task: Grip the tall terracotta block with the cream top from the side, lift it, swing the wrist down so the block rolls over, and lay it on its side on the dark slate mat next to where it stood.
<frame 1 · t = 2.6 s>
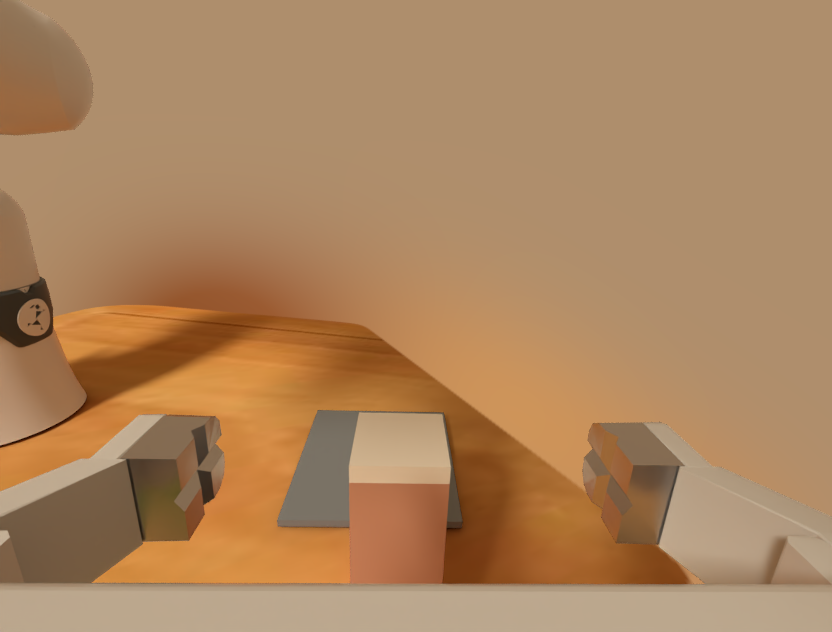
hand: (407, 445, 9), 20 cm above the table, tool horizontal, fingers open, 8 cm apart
slate mat: (376, 461, 40), on the table
tall block: (395, 601, 27), on the table
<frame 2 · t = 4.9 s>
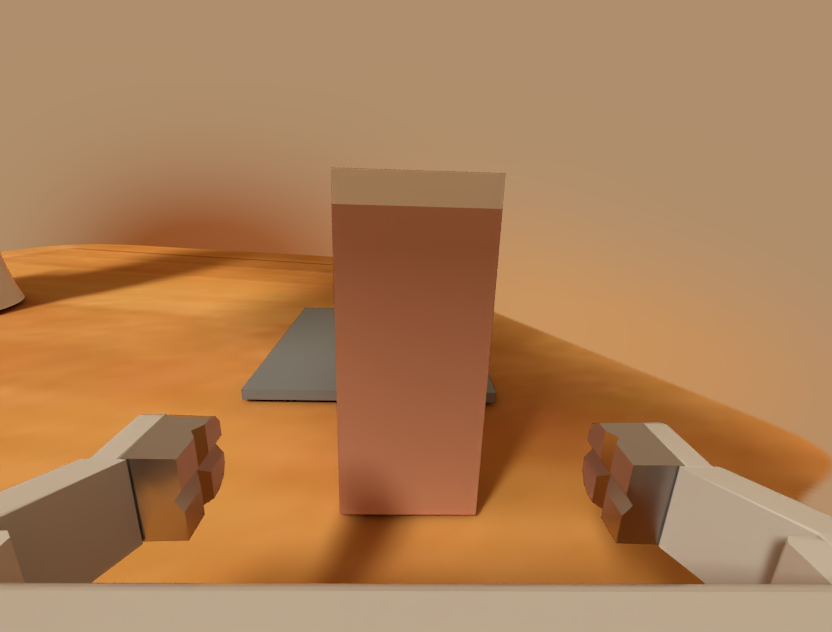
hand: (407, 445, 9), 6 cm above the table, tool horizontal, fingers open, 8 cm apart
slate mat: (378, 348, 31), on the table
tall block: (407, 470, 18), on the table
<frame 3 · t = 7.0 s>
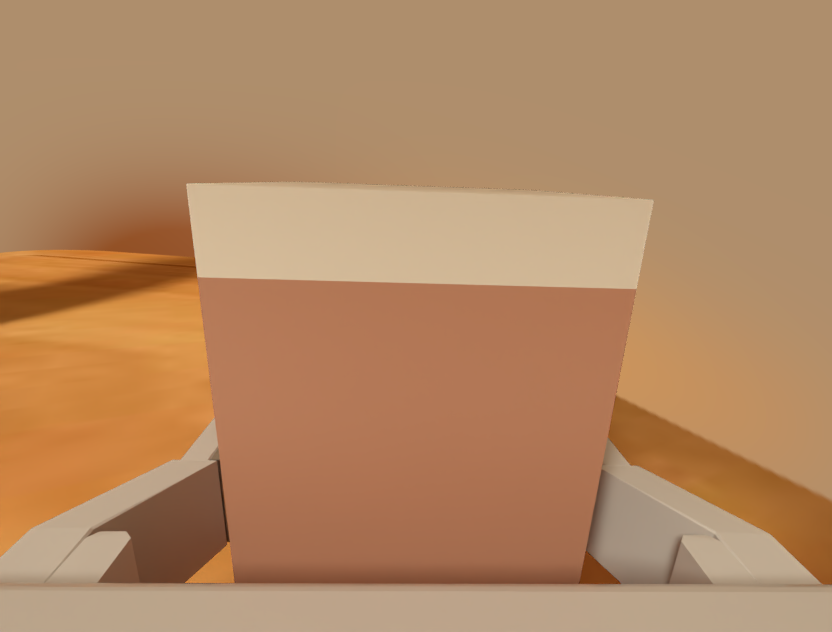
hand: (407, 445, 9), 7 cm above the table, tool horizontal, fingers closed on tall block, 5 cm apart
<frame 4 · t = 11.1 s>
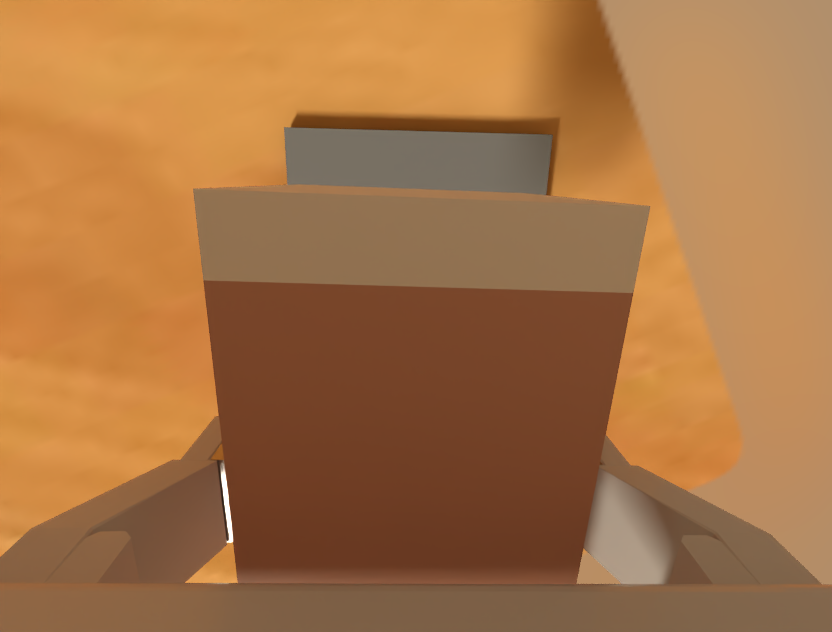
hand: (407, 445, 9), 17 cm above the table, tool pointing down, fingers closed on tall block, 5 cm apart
slate mat: (415, 279, 25), on the table
when the fingers open (4 cm above the table, at t = 14.3 s): tall block drops 1 cm, resting on slate mat.
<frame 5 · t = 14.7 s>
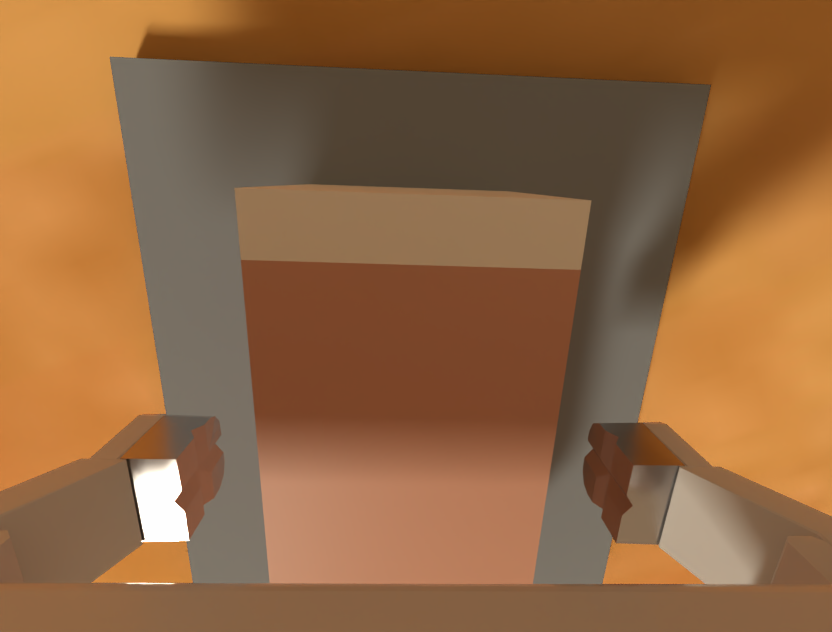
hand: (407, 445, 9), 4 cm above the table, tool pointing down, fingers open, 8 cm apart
slate mat: (407, 373, 13), on the table
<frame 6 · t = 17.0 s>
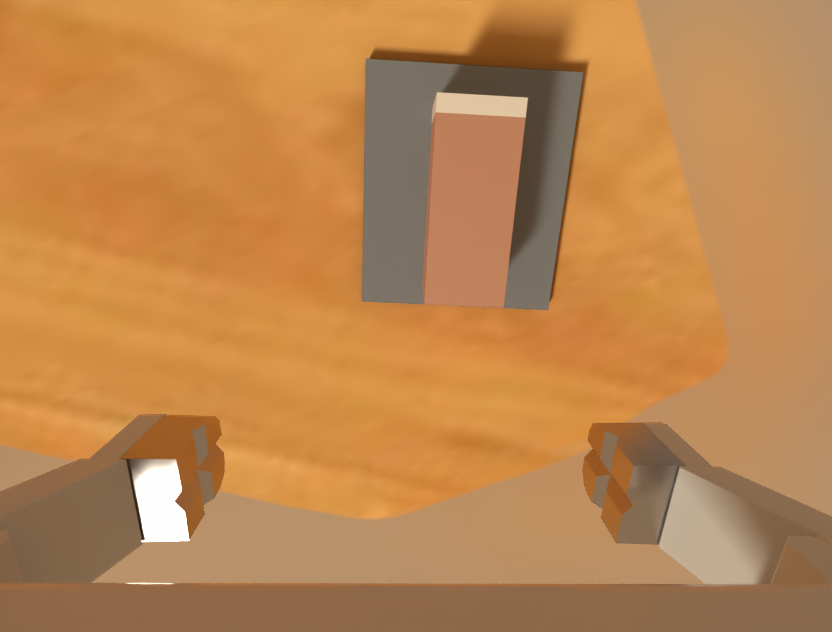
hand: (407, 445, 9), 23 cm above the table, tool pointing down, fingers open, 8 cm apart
slate mat: (463, 194, 30), on the table
tall block: (459, 296, 29), point 3 cm above the table, tilted 90°, touching slate mat
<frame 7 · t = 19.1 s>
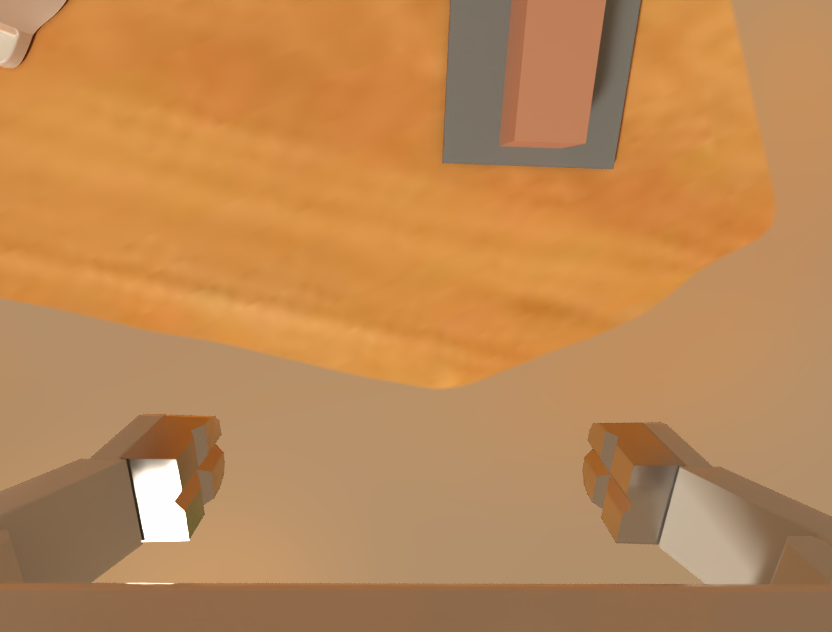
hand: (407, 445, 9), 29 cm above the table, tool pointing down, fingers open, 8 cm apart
slate mat: (538, 56, 33), on the table
tall block: (539, 144, 32), point 3 cm above the table, tilted 90°, touching slate mat
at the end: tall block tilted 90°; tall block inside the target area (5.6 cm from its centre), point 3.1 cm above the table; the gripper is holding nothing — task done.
